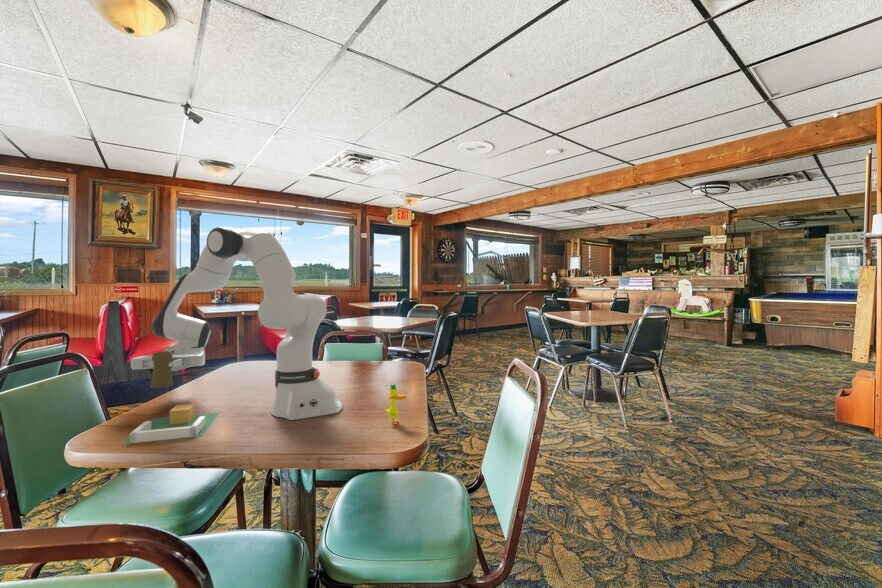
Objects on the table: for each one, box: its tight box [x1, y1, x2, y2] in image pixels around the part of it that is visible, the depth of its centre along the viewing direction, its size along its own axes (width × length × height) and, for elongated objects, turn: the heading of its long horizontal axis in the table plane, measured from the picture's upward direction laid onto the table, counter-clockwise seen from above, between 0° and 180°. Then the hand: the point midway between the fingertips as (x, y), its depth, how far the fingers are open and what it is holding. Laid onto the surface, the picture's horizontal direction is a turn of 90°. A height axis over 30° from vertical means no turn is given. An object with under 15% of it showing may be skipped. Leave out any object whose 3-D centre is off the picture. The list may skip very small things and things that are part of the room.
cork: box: [149, 350, 174, 389], centre depth 119 cm, size 6×6×11 cm
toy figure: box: [384, 383, 408, 424], centre depth 114 cm, size 7×4×12 cm, turn 92°
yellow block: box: [169, 403, 196, 424], centre depth 114 cm, size 5×6×4 cm
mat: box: [121, 412, 220, 446], centre depth 109 cm, size 18×20×1 cm
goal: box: [128, 416, 206, 444], centre depth 104 cm, size 15×10×2 cm, turn 109°
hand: (161, 365), depth 118 cm, fingers closed on cork, 4 cm apart
